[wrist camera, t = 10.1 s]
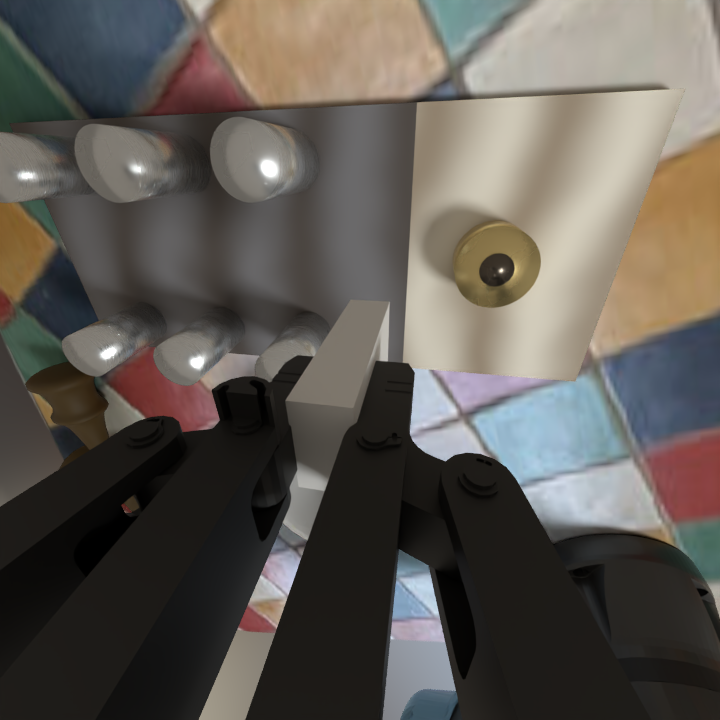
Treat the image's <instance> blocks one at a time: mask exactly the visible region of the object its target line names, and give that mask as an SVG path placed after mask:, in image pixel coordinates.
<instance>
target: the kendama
mask: <svg viewBox="0 0 720 720" xmlns="http://www.w3.org/2000/svg"><path fill="white" fill-rule="evenodd" d="M94 377H95V376H90V375H87V374H85V373H83V372H81V371H80V370H78V369H77V368H76V367H75V366H73V365H72V364H71V363H70V362H65V363H61V364H57V365H53V366H51V367H48V368H46V369H43V370H41V371H39V372H38V373H36V374H34V375H33V376H31V377H30V378H29V380H28V381H27V382H26V383H25V385H26V388H27V390H28V391H30V392H33V393H36V394H39V395H41V396H43V397H44V398H45V399H46V400H47V401H48V402H49V404H50V405H51V407H52V408H53V413H52V415H51V419H52V421H53V422H54V423H56V424H59V425H63V426H66V427H68V428H69V429H70V430H71V431H73V432H74V433H75V434H76V435H77V436H78V437H79V438H80V440H81V441H82V442H83V443H84V444H85V445H86V446H82V447H81V448H79V449H77V450H75V451H74V452H72V453H71V454H70V455H69V456H68V457H67V458H66V459H65V460H64V462H63V463H62V465H61V467H60V469H61V468H62V467H64V466H66V465H67V464H69V463H70V462H72V461H73V460H75V459H77V458H78V457H80V456H81V455H83V454H85V453H86V452H88V451H89V450H91V449H92V448H94V447H96V446H97V445H99V444H100V443H102V442H104V441H105V440H107V439H108V438H109V436H108V433H107V429H106V424H105V418H104V411H105V410H106V409H107V407H108V405H109V403H108V401H107V400H106V399H105V398H103V397H101V396H99V395H98V393H97V391H96V388H95V384H94ZM124 504H125V505H126V506H127V507H128V508H129V509H130V510H131V512H133V511H135V510H136V509H138V508H139V506H138V504H137V502H136V500H135V498H134V496H132V497H131V498H129V499H128V500H127V501H126V502H124Z"/></svg>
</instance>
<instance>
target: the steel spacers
mask: <svg viewBox="0 0 720 720" xmlns="http://www.w3.org/2000/svg"><path fill="white" fill-rule="evenodd" d="M210 159H211V164H212V168H213V171H214V173H215V176H216V178H217V180H218V181H219V183H220V184H221V186H222V187H223V188H224V189H225V190H226V191H227V192H228V193H229V194H230V195H231V196H233V197H234V198H236V199H238V200H240V201H243V202H248V203H254V202H260V201H264V200H268V199H273V198H277V197H281V196H286V195H290V194H294V193H299V192H303V191H305V190H307V189H309V188H310V187H311V186H312V185H313V184H314V182H315V181H316V179H317V177H318V174H319V169H320V160H319V154H318V151H317V148H316V146H315V144H314V143H313V141H312V140H311V139H310V138H309V137H308V136H307V135H306V134H305V133H303V132H301V131H299V130H296V129H292V128H287V127H283V126H279V125H274V124H270V123H266V122H262V121H257V120H253V119H249V118H244V117H232V118H229V119H227V120H225V121H223V122H222V123H221V124H220V125H219V126H218V127H217V129H216V130H215V132H214V134H213V137H212V140H211V145H210ZM210 177H211V167H210V162H209V159H208V156H207V154H206V152H205V150H204V149H203V147H202V146H201V145H200V144H199V142H198V141H196V140H195V139H194V138H192V137H191V136H189V135H186V134H182V133H173V132H164V131H155V130H146V129H137V128H128V127H119V126H110V125H101V124H88V125H85V126H84V127H82V128H81V129H80V130H79V132H78V133H77V136H76V137H68V136H53V135H39V134H24V133H10V132H0V202H2V203H12V202H22V201H32V200H43V199H53V198H63V197H74V196H84V195H94V194H99V195H101V196H102V197H104V198H105V199H107V200H109V201H112V202H116V203H124V202H132V201H139V200H147V199H154V198H162V197H170V196H177V195H185V194H192V193H198V192H201V191H203V190H204V189H205V188H206V187H207V185H208V183H209V181H210ZM166 331H167V324H166V321H165V319H164V317H163V315H162V314H161V313H160V312H159V310H157V309H156V308H155V307H154V306H152V305H150V304H148V303H144V302H138V303H135V304H133V305H131V306H129V307H127V308H125V309H123V310H121V311H119V312H117V313H114V314H112V315H110V316H108V317H106V318H104V319H102V320H100V321H98V322H96V323H94V324H91V325H89V326H87V327H85V328H83V329H81V330H79V331H77V332H75V333H73V334H70V335H68V336H66V337H65V338H64V339H63V341H62V349H63V352H64V354H65V356H66V357H67V359H68V360H69V361H70V363H71V364H72V365H73V366H75V367H76V368H77V369H78V370H80V371H81V372H83V373H85V374H87V375H90V376H102V375H104V374H105V373H107V372H108V371H110V370H111V369H113V368H114V367H116V366H118V365H119V364H121V363H122V362H124V361H125V360H127V359H128V358H130V357H131V356H133V355H135V354H136V353H138V352H139V351H141V350H142V349H144V348H145V347H147V346H148V345H150V344H152V343H153V342H155V341H156V340H158V339H159V338H161V337H162V336H164V335H165V333H166ZM330 331H331V328H330V325H329V324H328V322H327V321H326V320H325V319H324V318H323V317H322V316H320V315H319V314H317V313H314V312H302V313H300V314H298V315H296V316H295V317H294V319H293V320H292V321H291V322H290V323H289V324H288V325H287V326H286V328H285V329H284V330H283V331H282V332H281V333H280V334H279V335H278V336H277V338H276V339H275V340H274V341H273V342H272V343H271V344H270V345H269V347H268V348H267V349H266V350H265V351H264V352H263V353H262V354H261V356H260V357H259V358H258V359H257V361H256V365H255V372H256V375H257V377H259V378H263V379H265V380H267V381H268V382H272V379H273V378H274V376H275V375H276V374H278V371H279V370H280V369H281V367H282V366H283V365H284V364H285V362H287V361H289V360H290V359H292V358H294V357H295V356H297V355H302V356H315V354H316V352H317V351H318V349H319V348H320V346H321V345H322V343H323V342H324V340H325V339H326V337H327V335H328V334H329V332H330ZM244 336H245V325H244V323H243V321H242V319H241V318H240V316H239V315H238V314H237V313H235V312H234V311H233V310H231V309H229V308H226V307H216V308H213V309H212V310H210V311H209V312H207V313H206V314H204V315H203V316H201V317H200V318H198V319H197V320H195V321H194V322H192V323H191V324H189V325H188V326H186V327H185V328H183V329H182V330H180V331H179V332H177V333H176V334H174V335H173V336H171V337H170V338H168V339H167V340H165V341H164V342H162V343H161V344H159V345H158V346H157V347H156V348H155V350H154V354H153V356H154V362H155V364H156V366H157V368H158V369H159V371H160V372H161V373H162V374H163V375H164V376H165V377H166V378H167V379H169V380H170V381H172V382H174V383H176V384H179V385H184V386H189V385H193V384H195V383H196V382H197V381H198V380H200V379H201V378H202V377H203V376H204V375H205V374H206V373H207V372H208V371H209V370H210V369H211V368H212V367H213V366H215V365H216V364H217V363H218V362H219V361H220V360H221V359H222V358H223V357H224V356H225V355H226V354H227V353H228V352H230V351H231V350H232V349H233V348H234V347H235V346H236V345H237V344H238V343H239V342H240V341H241V340H242V339H243V338H244Z"/></svg>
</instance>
